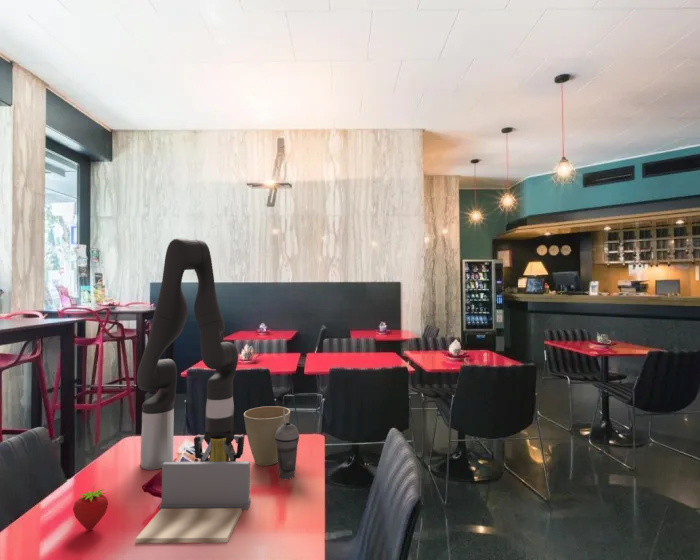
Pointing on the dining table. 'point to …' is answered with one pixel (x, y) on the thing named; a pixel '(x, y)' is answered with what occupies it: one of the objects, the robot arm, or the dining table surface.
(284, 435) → the beverage cup
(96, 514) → the strawberry
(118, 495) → the dining table surface
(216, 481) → the screen
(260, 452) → the plant pot
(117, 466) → the dining table surface
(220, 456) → the vase
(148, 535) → the board
